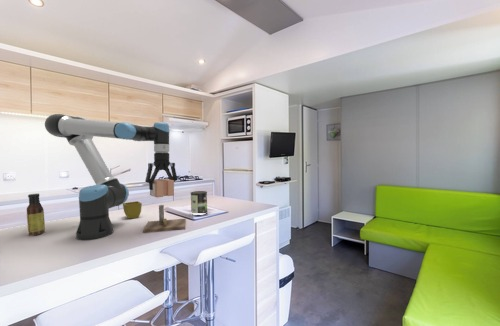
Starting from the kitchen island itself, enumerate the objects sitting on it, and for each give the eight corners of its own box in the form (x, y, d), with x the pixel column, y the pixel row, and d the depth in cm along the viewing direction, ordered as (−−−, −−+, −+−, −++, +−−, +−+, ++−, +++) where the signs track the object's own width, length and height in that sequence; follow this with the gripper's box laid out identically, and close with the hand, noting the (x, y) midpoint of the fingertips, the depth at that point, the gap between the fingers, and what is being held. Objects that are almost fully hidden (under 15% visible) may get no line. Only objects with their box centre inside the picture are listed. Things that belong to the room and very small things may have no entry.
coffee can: (208, 211, 156) (208, 190, 156) (205, 215, 146) (205, 193, 146) (193, 212, 157) (192, 190, 156) (189, 216, 146) (188, 193, 146)
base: (142, 232, 116) (141, 209, 115) (148, 224, 130) (147, 203, 130) (184, 229, 120) (184, 206, 120) (185, 221, 135) (185, 201, 134)
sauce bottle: (48, 232, 118) (46, 193, 118) (34, 236, 112) (32, 195, 112) (38, 231, 120) (37, 192, 119) (24, 235, 114) (22, 194, 113)
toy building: (150, 195, 125) (149, 180, 124) (166, 193, 131) (166, 178, 131) (157, 197, 118) (157, 181, 118) (174, 195, 125) (173, 180, 124)
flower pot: (122, 217, 145) (122, 203, 145) (137, 214, 151) (137, 201, 151) (126, 220, 139) (126, 205, 138) (142, 217, 144) (142, 202, 144)
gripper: (143, 152, 113) (143, 198, 114) (184, 152, 129) (184, 193, 130) (137, 152, 119) (138, 196, 120) (177, 152, 134) (177, 191, 135)
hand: (162, 194), depth 125 cm, fingers closed on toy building, 9 cm apart
